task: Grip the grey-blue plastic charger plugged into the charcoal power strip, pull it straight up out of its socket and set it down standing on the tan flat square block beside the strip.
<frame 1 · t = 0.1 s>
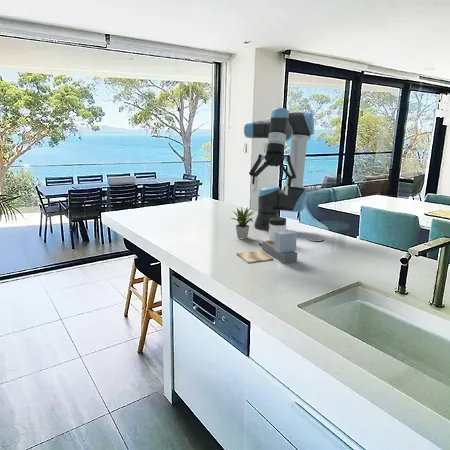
hand: (270, 193, 160), 28 cm above the worktop, tool tilted 20°, fingers open, 13 cm apart
jar: (276, 242, 187), on the worktop
house plant: (242, 238, 193), on the worktop
charger: (284, 254, 161), point 2 cm above the worktop, touching power strip
power strip: (278, 255, 166), on the worktop
tan flat square block: (254, 257, 164), on the worktop
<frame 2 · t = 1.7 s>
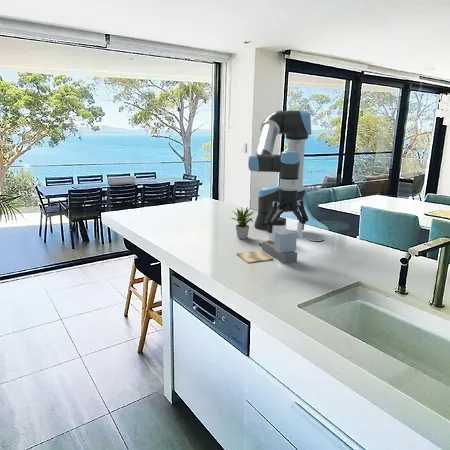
hand: (285, 239, 159), 9 cm above the worktop, tool pointing down, fingers open, 13 cm apart
nothing on the worktop moved.
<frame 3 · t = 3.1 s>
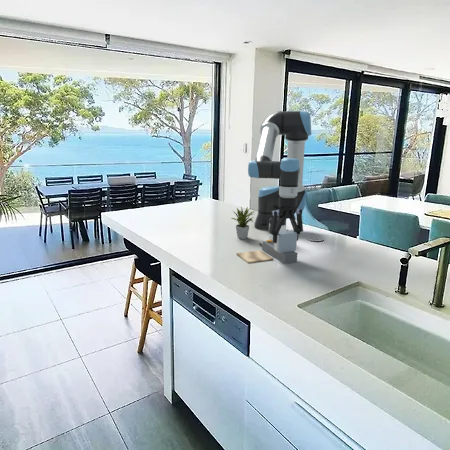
hand: (285, 248, 161), 5 cm above the worktop, tool pointing down, fingers closed on charger, 8 cm apart
charger: (284, 254, 161), point 2 cm above the worktop, touching gripper, power strip
everything else where it was.
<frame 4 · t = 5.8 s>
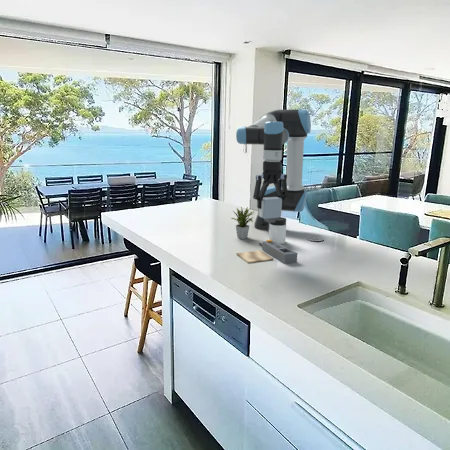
hand: (269, 215, 158), 19 cm above the worktop, tool pointing down, fingers closed on charger, 8 cm apart
charger: (269, 221, 159), point 16 cm above the worktop, touching gripper
everything else where it was.
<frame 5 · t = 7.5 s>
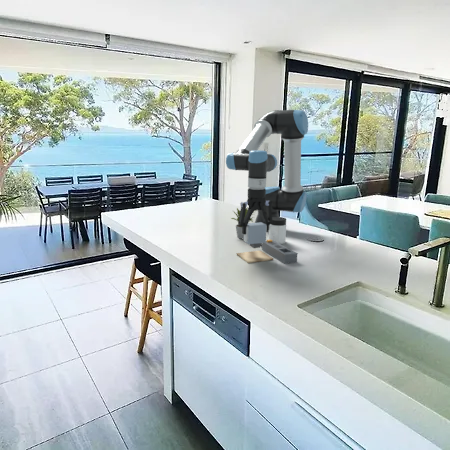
hand: (254, 240, 162), 8 cm above the worktop, tool pointing down, fingers closed on charger, 8 cm apart
charger: (254, 246, 163), point 5 cm above the worktop, touching gripper
everything else where it was.
when the fingers open (5 cm above the worktop, at t = 8.8 s): charger drops 2 cm, resting on tan flat square block.
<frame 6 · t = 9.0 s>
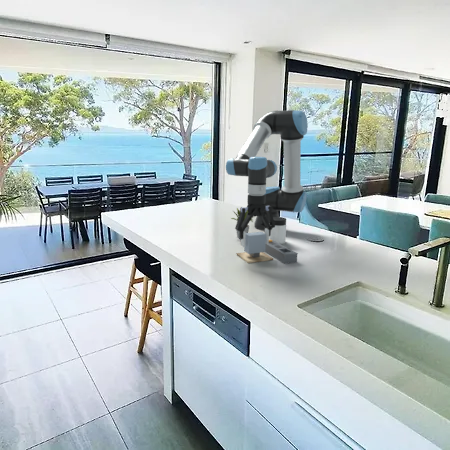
hand: (254, 244, 163), 6 cm above the worktop, tool pointing down, fingers open, 10 cm apart
charger: (254, 255, 164), point 1 cm above the worktop, touching tan flat square block
everything else where it was.
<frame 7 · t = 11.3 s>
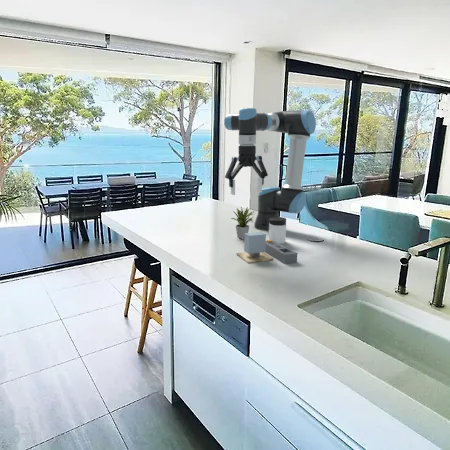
hand: (246, 193, 169), 26 cm above the worktop, tool pointing down, fingers open, 13 cm apart
nothing on the worktop moved.
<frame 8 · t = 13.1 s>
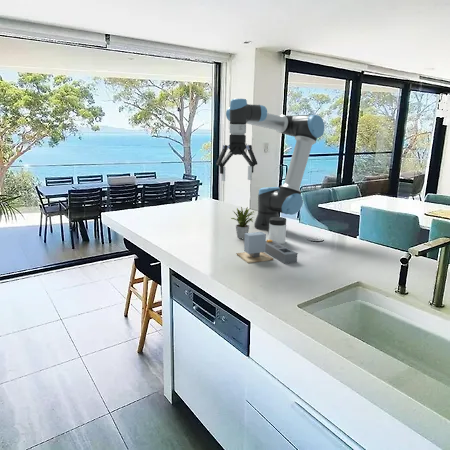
hand: (236, 180, 177), 31 cm above the worktop, tool pointing down, fingers open, 13 cm apart
nothing on the worktop moved.
at the end: charger inside the target area on the tan flat square block (0.0 cm from its centre), point 0.6 cm above the tan flat square block's base; charger tilted 0°; the gripper is holding nothing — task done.
